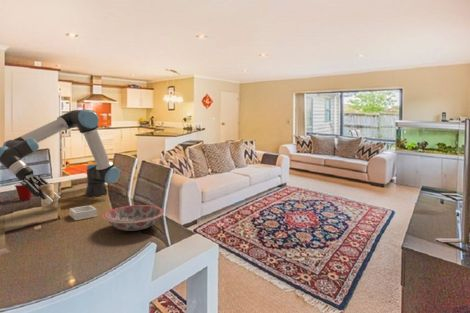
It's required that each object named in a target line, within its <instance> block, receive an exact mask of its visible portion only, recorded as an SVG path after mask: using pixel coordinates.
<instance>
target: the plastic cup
mask: <svg viewBox="0 0 470 313" xmlns="http://www.w3.org/2000/svg"><path fill="white" fill-rule="evenodd" d="M13 185H14V187H15V188H16V191H17V192H16V193H17V195H18V198H19V201H20V200H22V201H21V202H25V200H28V201H30V200H31V199H32V198H31V197H32V193H31V192H30V191H29V190H28V189H27V188H26V187H25V186H24V185H22V184H21V182H18V183H14V184H13Z"/></svg>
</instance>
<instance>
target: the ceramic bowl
mask: <svg viewBox="0 0 470 313" xmlns="http://www.w3.org/2000/svg"><path fill="white" fill-rule="evenodd" d="M164 214H165V212H164V209H163V208H161V207H159V206H157V205H149V204H148V205H146V204H137V205H136V204H135V205H125V206H120V207H116V208H112V209H110V210H108V211H106V212H104V213H103V220H105V221H107V222H108V223H109V224H110V225H111V226H112V227H114V228H115V229H117V230H120V231H124V232H135V231H141V230H146V229H148V228H149V227H152V226H153V225H154V224H155V223H157V221H158V220H159V219H160V217H162V216H163V215H164Z"/></svg>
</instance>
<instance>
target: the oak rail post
mask: <svg viewBox="0 0 470 313" xmlns="http://www.w3.org/2000/svg"><path fill="white" fill-rule="evenodd" d="M39 189H40V190H41V191H42V193H43V192H44V193H45V194H46V195H48V196H49V197H50V198H51V199H52V200H53V201H52V202H51V203H50V204H48V203H47V202H46V201H44V200H43V199H42V198H41V197H40V200H41V202H40V204H41V211H52V210H54V209H56V205H55V202H56V200H55V199H54V192H55V186H54V184H53V183H49V184H45V185H41V186H40V187H39Z"/></svg>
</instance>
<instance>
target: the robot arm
mask: <svg viewBox="0 0 470 313" xmlns="http://www.w3.org/2000/svg"><path fill="white" fill-rule="evenodd" d="M99 122H100V119H99V116H98V114H97V113H96V112H94V111H93V110H90V109H73V110H69V111H68V112H66V113H63V114H62V115H60V116H57V118H56V119H55V120H53V121H51V122H49V123H47V124H45V125H42V126H40V127H37V128H36V129H33V130H31V131H29V132H27V133H25V134H23V135H21V136H19V137H16V138H14V139H9V140H6V141H5V142H3V144H2V146H0V164H2V166H4V167H5V168H6V169H7V170H8V171H10V173H11V174H13V175H14V176H15V177H16V178H17V179H18V180H19V181H21V182H20V183H21V184H22V185H24V186H25V187H26V188H27V189H28V190H29V191H30V192H31V195H33V196H34V197H36V198H38V197H39V198H40V199H41V198H42V199H43V200H44V201H46V202H47V203H48V204H50V203H51V202H52V201H53V200H52V199H51V198H50V197H49V196H48V195H46V194H45V193H44V192H43V193H42V191H41V190H40V186H41V185H45V184H50V183H49V182H48V181H47V180H45V178H43V176H41V174H40V175H36V174H34V170H33V169H32V168H31V167H30V166H29V165H28V164H27V163H25V162H24V161H23V160H22V159H23V158H25V157H28V155H31V154H33V153H35V152H36V151H38V150H39V149H40V145H39V143H40V142H42V141H44V140H47V139H48V138H51V137H53V136H55V135H56V134H59V133H61V132H62V131H68V130H71V129H74V128H75V129H76V128H78V131H79V133H80V134H82V135H83V136H84V139H85V141H86V143H87V145H88V148H89V150H90V152H91V155H92V156H93V158H94V159H93V160H94V163H93V164H87V166H86V180H87V182H86V189H85V192H84V196H85V195H86V196H85V197H88V196H97V197H102V195H104V196H106V195H105V194H107V193H108V189H107V186H106V184H115V183H116V182H118V180H119V177H120V176H121V172H120V169H119V168H118V167H116V166H115V164H114V162H113V161H110V159H109V156H108V153H107V152H106V149H105V146H104V144H103V141H102V139H101V137H100V133H99V132H98V129H99ZM105 183H106V184H105ZM107 195H108V194H107ZM60 198H61V196H60V195H59V194H57V193H56V192H55V191H54V201H55V202H57V201H59V200H60Z"/></svg>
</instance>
